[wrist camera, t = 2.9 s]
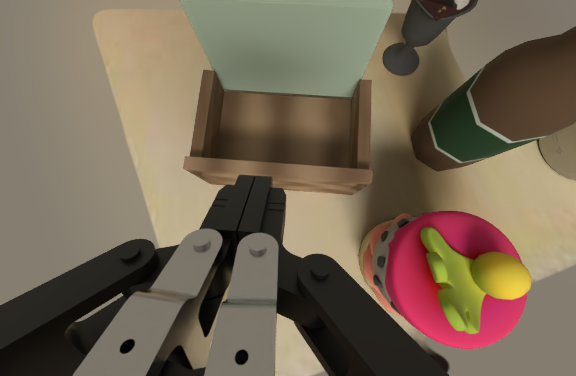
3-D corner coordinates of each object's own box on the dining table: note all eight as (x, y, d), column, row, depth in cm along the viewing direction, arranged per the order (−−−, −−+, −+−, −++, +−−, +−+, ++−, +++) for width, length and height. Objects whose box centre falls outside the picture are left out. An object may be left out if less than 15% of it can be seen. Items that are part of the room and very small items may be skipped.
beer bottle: (413, 111, 32) (738, -211, 9) (472, 122, 32) (983, -183, 8) (405, 166, 31) (760, -37, 8) (466, 179, 31) (1049, 7, 7)
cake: (411, 201, 30) (524, 173, 16) (462, 279, 29) (642, 330, 14) (339, 242, 30) (385, 254, 15) (387, 325, 28) (492, 430, 13)
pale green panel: (352, 86, 30) (392, -12, 18) (352, 99, 30) (392, 9, 18) (225, 78, 31) (182, -22, 19) (224, 91, 31) (178, -2, 18)
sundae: (408, 31, 35) (494, -119, 20) (433, 69, 33) (545, -59, 19) (367, 50, 34) (424, -89, 19) (392, 89, 33) (472, -26, 18)
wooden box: (354, 112, 33) (374, 74, 25) (351, 194, 31) (372, 182, 23) (221, 103, 33) (199, 63, 25) (210, 184, 31) (183, 168, 23)
